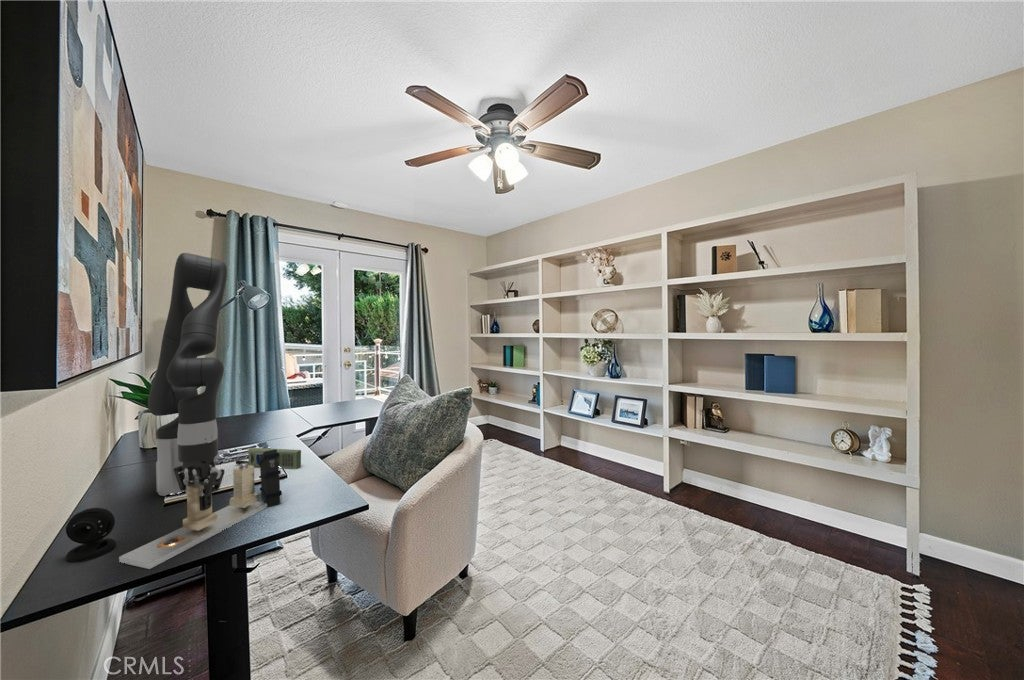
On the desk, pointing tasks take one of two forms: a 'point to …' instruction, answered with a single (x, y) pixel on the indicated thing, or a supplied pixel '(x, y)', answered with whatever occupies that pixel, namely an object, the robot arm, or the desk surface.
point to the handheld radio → (285, 458)
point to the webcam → (90, 533)
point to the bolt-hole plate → (185, 538)
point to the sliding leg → (197, 511)
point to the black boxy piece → (270, 477)
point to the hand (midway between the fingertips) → (199, 508)
